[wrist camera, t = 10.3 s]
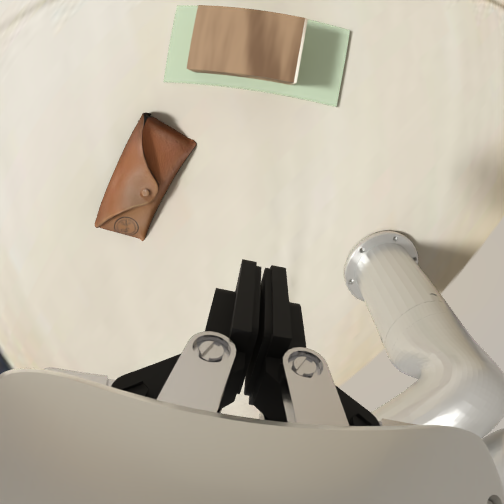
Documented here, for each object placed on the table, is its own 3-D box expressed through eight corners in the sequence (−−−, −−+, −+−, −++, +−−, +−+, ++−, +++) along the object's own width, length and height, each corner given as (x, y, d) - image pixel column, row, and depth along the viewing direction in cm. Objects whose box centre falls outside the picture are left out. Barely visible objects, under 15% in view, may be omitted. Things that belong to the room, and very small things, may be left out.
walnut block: (307, 18, 25) (198, 5, 25) (296, 82, 29) (186, 68, 29) (301, 28, 30) (205, 16, 29) (291, 85, 34) (195, 72, 33)
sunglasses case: (145, 245, 45) (111, 252, 39) (120, 218, 47) (87, 222, 41) (200, 139, 38) (166, 132, 32) (168, 117, 39) (134, 108, 33)
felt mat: (349, 31, 30) (350, 30, 30) (335, 106, 35) (336, 106, 35) (177, 6, 29) (177, 5, 28) (164, 82, 34) (163, 81, 33)
